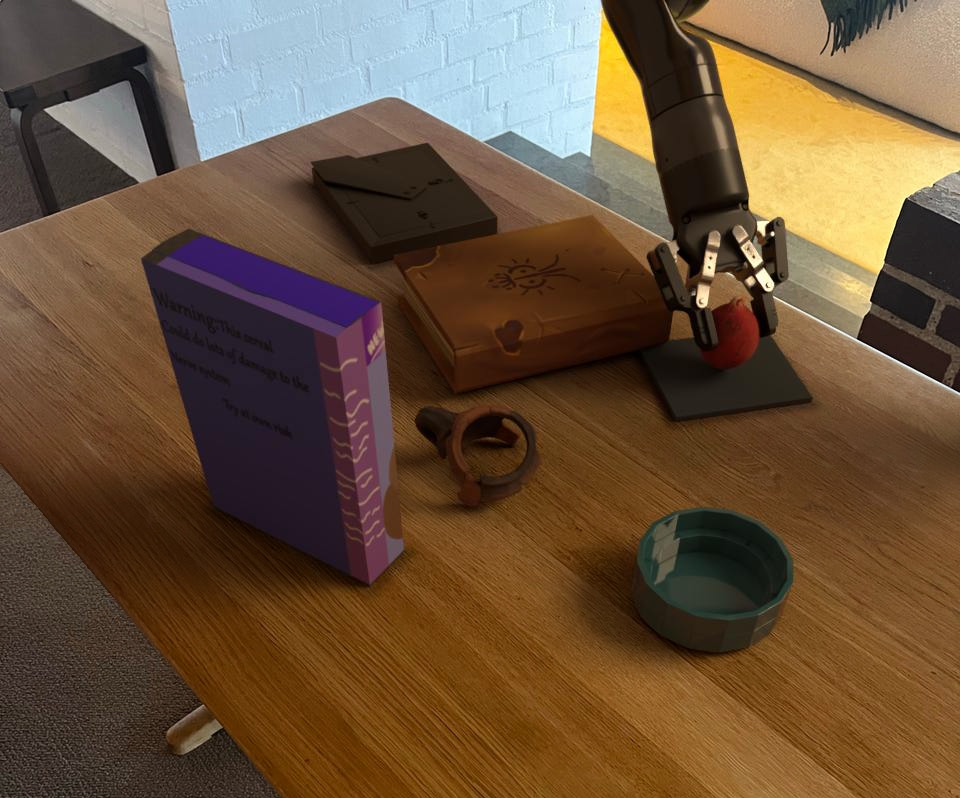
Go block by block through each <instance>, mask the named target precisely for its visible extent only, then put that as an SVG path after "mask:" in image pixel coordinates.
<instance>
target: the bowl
mask: <svg viewBox="0 0 960 798" xmlns="http://www.w3.org/2000/svg"><path fill="white" fill-rule="evenodd" d="M632 576H633V578H632V585H631V592H630V593H631V597H632V599H633V602H634V604H635V607H636V609H637V612H638V614H639V616H640V618H641V619H642V620H643V621H644V622H645V623H647V625H649V627H650V628H652V629H653V630H654V631H655V633H657V635H659V636H661V637H663V638H664V639H667V640H669V641H671V642H674V643H676V644H678V645H680V646H683V647H685V648H686V649H690V650H697V651H705V652H712V653H724V652H730V651H736V650H741V649H747V648H750V647H751V646H753V645H755V644H756V643H758V642H760V641H761V640H763V639H765V638H766V637H768V636H770V635H771V634H772V632H773V631H774V630H775V629H774V628H775V627H776V625H777V623H778V622H779V621H780V619H781V618H782V616H783V613H784V610H785V608H786V604H787V601H788V599H789V596H790V593H791V590H792V588H793V585H794V580H795V577H794V559H793V557H792V555H791V553H790V551H789V550H788V548H787V546H786V545H785V542H784V541H783V539H782V538H781V537H780V536H779V535H778V534H777V533H775V532H774V531H773V530H771V528H769V527H768V526H767V525H765V524H764V523H763V522H762V521H760V520H759V519H757V518H756V519H755V518H753V517H751V516H748V515H745V514H743V513H740V512H738V511H737V510H734V509H729V508H728V509H727V508H718V507H710V506H697V507H691V508H685V509H684V508H683V509H679V510H674V511H672V512H670V513H668V514H666V515H664V516H663V517H661V518H659V519H657V520H655V521H654V522H652V523H651V525H650V526H649V527H648V528H647V530H646V531H645V532H644V533H643V535H642V537H641V538H640V539H639V541H638V545H637V552H636V558H635V563H634V570H633V575H632Z"/></svg>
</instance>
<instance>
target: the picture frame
mask: <svg viewBox="0 0 960 798" xmlns="http://www.w3.org/2000/svg"><path fill="white" fill-rule="evenodd" d="M310 164H311V166H312V167H311V174H312V175H311V176H312V180H313V185H314V187H315V188H316V189H317V190H318V192H319V194H321V196H322V198H323V199H324V200H325V201H326V203H327V204H328V205H329V207H330V208H331V210H332V211H333V212H334V213H335V215H336V216H337V218H338V219H339V221H340V222H341V224H342V225H343V226H344V227H345V228H346V230H347V231H348V233H349V234H350V235H351V237H352V238H353V239H354V240H355V242H356V244H357V245H358V247H360V249H361V250H362V251H363V253H364V254H365V255H366V257H367V258H368V260H369V261H370V263H371V264H372V265H374V264H379V263H384V262H387V261H391V260H394V255H396V254H401V253H406V252H411V251H416V250H421V249H426V248H431V247H436V246H441V245H446V244H451V243H456V242H461V241H466V240H471V239H476V238H481V237H485V236H490V235H495V234H498V215H497V214H496V213H495V212H494V211H493V210H492V209H491V208H490V207H489V206H488V205H487V203H485V201H484V200H482V198H481V197H480V196H479V195H478V194H477V193H476V192H475V191H474V190H473V189H472V188H471V187H470V186H469V185H468V184H467V182H466V181H465V180H464V179H463V178H462V177H461V176H460V175H459V173H457V172H456V171H455V169H453V167H452V166H450V164H449V163H448V162H447V161H446V160H445V159H444V158H443V157H442V156H441V155H440V153H439V152H438V151H437V150H436V149H434V147H433V146H432V145H431V144H430V143H429V142H423V143H419V144H415V145H410V146H406V147H405V146H404V147H400V148H397V149H391V150H387V151H383V152H378V153H374V154H373V153H372V154H368V155H364V156H359V157H354V156H353V155H350V154H346V155H340V156H335V157H329V158H324V159H318V160H314V161H313V160H312V161H310Z"/></svg>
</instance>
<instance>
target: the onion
mask: <svg viewBox="0 0 960 798" xmlns="http://www.w3.org/2000/svg"><path fill="white" fill-rule="evenodd" d="M745 302H746V299H745V298H744V297H743V296H742V295H741V294H739V295H734V296H733V298H732V299H731V300H730V301H729V302H727V303H723V304H721V305H718V306H716V307H715V308H713V309H711V311H712V316H713V320H714V324H715V329H716V333H717V337H718V341H719V346H718V348H716V349H713V350H711V351H707V352H703V351H702V350H701V347H699V349H700V352H701V354H702V356H703V358H704V359H705V360H706V361H707V362H708V363H709V364H710V365H712V366H713V367H715V368H717V369H720V370H726V369H731V368H735V367H737V366H739V365H741V364H743V363H745V362H746V361H747V360H748V359H750V358H751V356H752V355H753V354H754V352H755V351H756V348H757V346H758V344H759V337H760V328H759V323H758V320H757V318H756V317H755V315H754V314H753V312H752V309H750V308H749V307H748V306H746V305H745V304H744V303H745Z"/></svg>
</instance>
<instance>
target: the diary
mask: <svg viewBox="0 0 960 798" xmlns="http://www.w3.org/2000/svg"><path fill="white" fill-rule="evenodd" d="M393 262H394V263H393V264H394V265H395V266H396V268H397V269H398V271H399V272H400V274H401V276H402V277H403V287H404V288H403V289H404V294H400V295H397V296H396V298H397V299H396V301H397V305H398V306H399V308H400V310H401V311H402V313H403V314H404V316H405V318H406V319H407V320H408V322H409V324H410V325H411V327H412V328H413V330H414V331H415V333H416V334H417V336H418V338H419V339H420V341H421V342H422V344H423V346H424V347H425V349H426V350H427V352H428V354H429V355H430V356H431V359H433V361H434V363H435V364H436V366H437V368H438V369H439V371H440V372H441V374H442V375H443V377H444V379H445V381H446V382H447V383H448V385H449V386H450V388H451V390H452V391H453V393H454V394H455V395H456V394H460V393H464V392H465V393H466V392H468V391H473V390H478V389H481V388H485V387H491V386H494V385H498V384H502V383H507V382H511V381H514V380H519V379H523V378H527V377H532V376H536V375H539V374H544V373H548V372H553V371H556V370H559V369H564V368H565V369H566V368H568V367H573V366H577V365H582V364H586V363H590V362H594V361H598V360H603V359H607V358H611V357H614V356H619V355H623V354H628V353H631V352H632V353H633V352H636V351H638V350H640V349H645V348H649V347H653V346H657V345H661V344H665V343H666V342H667V341H670V338H671V329H672V324H673V318H674V317H673V316H674V311H673V312H671V311H669V310H668V309H667V307H666V305H665V302H664V300H663V297H662V295H661V292H660V290H659V287H658V285H657V283H656V280H655V278H654V275H653V273H652V272H650V271H649V270H648V268H647V267H645V266H644V264H642V262H640V261H639V260H638V259H637V258H636V256H634V255H633V254H632V253H631V251H629V250H628V249H627V247H625V245H623V243H622V242H621V241H620V240H619V239H617V237H615V235H613V233H611V231H610V230H608V228H606V226H605V225H603V223H601V221H600V220H599V219H598V218H597V217H596V216H595V215H594V214H590V215H585V216H580V217H575V218H570V219H565V220H561V221H555V222H550V223H546V224H540V225H535V226H530V227H525V228H521V229H520V228H519V229H515V230H511V231H505V232H500V233H496V234H492V235H488V236H484V237H480V238H476V239H471V240H466V241H461V242H456V243H451V244H446V245H441V246H436V247H431V248H426V249H421V250H416V251H411V252H406V253H401V254H396V255H394V259H393Z"/></svg>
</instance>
